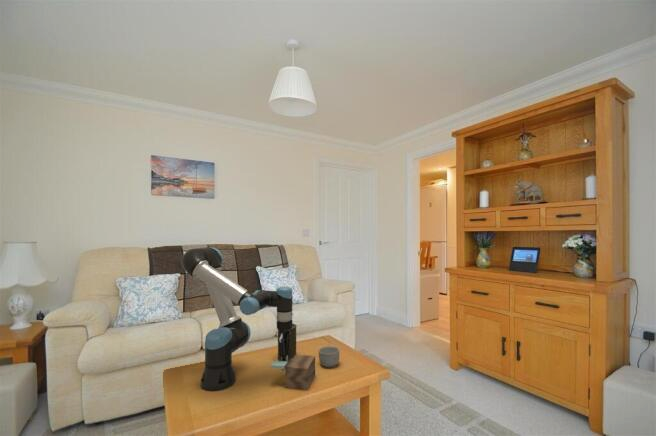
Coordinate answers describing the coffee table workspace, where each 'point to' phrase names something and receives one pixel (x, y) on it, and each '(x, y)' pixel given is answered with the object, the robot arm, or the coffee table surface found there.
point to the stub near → (279, 364)
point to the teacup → (329, 356)
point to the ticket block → (300, 372)
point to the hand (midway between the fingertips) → (284, 369)
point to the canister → (292, 343)
